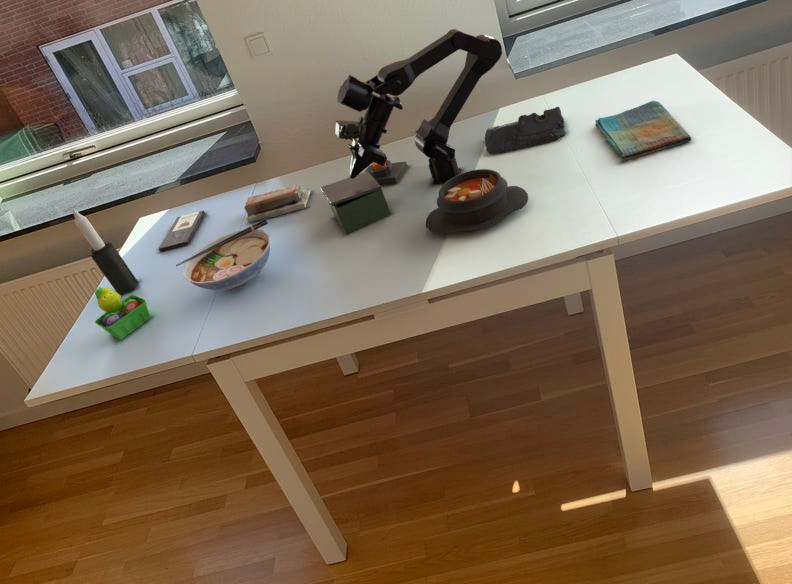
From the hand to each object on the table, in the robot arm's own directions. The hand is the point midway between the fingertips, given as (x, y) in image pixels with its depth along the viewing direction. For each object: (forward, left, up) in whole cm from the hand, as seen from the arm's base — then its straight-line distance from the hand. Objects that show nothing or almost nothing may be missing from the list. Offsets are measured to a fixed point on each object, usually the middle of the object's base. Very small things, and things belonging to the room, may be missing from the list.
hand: (351, 177), depth 177 cm
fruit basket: (+48, +44, -11) cm, 66 cm away
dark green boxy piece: (+1, +1, -11) cm, 11 cm away
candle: (+62, +28, -11) cm, 69 cm away
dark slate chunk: (-35, -35, -11) cm, 51 cm away
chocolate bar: (+62, +1, -11) cm, 63 cm away
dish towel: (-67, -28, -11) cm, 73 cm away
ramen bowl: (+25, +26, -11) cm, 38 cm away
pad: (+3, -20, -11) cm, 23 cm away
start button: (+3, -20, -8) cm, 21 cm away
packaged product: (+32, -8, -11) cm, 35 cm away
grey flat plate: (+1, +1, -3) cm, 3 cm away
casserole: (-33, +5, -11) cm, 35 cm away
